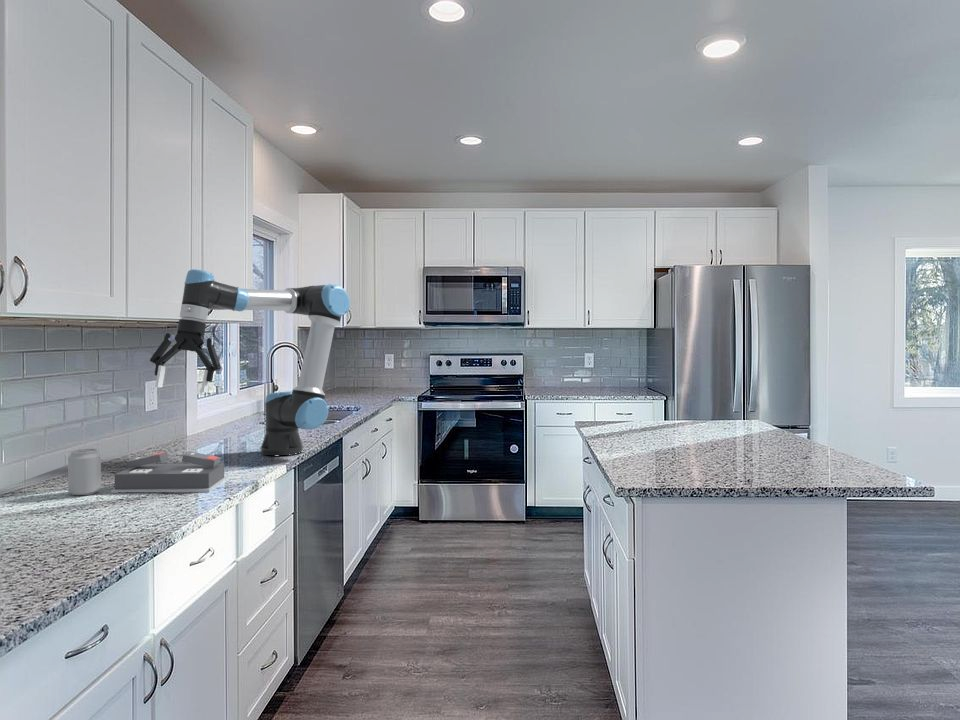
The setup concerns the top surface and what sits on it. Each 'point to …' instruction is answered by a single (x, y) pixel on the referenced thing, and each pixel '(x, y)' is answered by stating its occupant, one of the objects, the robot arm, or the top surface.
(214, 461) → the block
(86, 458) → the can
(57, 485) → the top surface
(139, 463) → the rocker
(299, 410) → the robot arm
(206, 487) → the power strip
